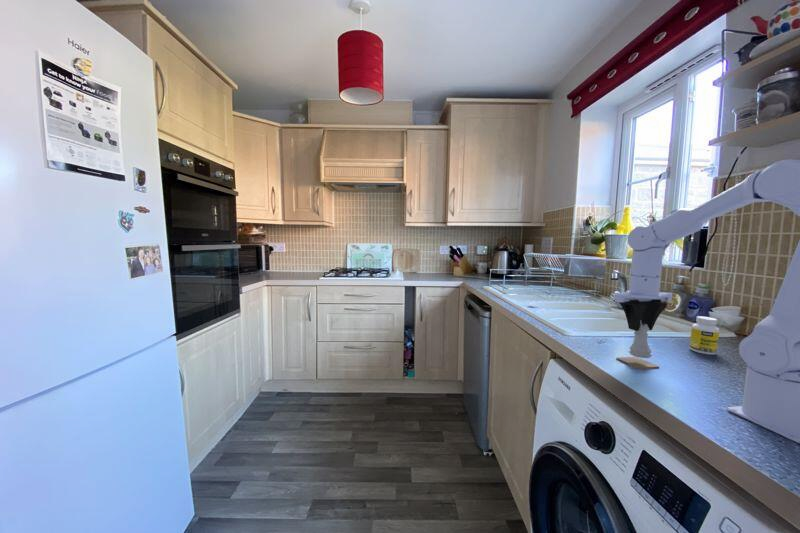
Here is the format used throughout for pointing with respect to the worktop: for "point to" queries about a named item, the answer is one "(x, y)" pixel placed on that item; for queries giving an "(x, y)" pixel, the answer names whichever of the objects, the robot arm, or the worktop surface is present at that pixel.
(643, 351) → the rook chess piece
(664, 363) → the worktop surface
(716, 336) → the supplement bottle
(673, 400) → the worktop surface
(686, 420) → the worktop surface
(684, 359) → the worktop surface
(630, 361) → the walnut tile
